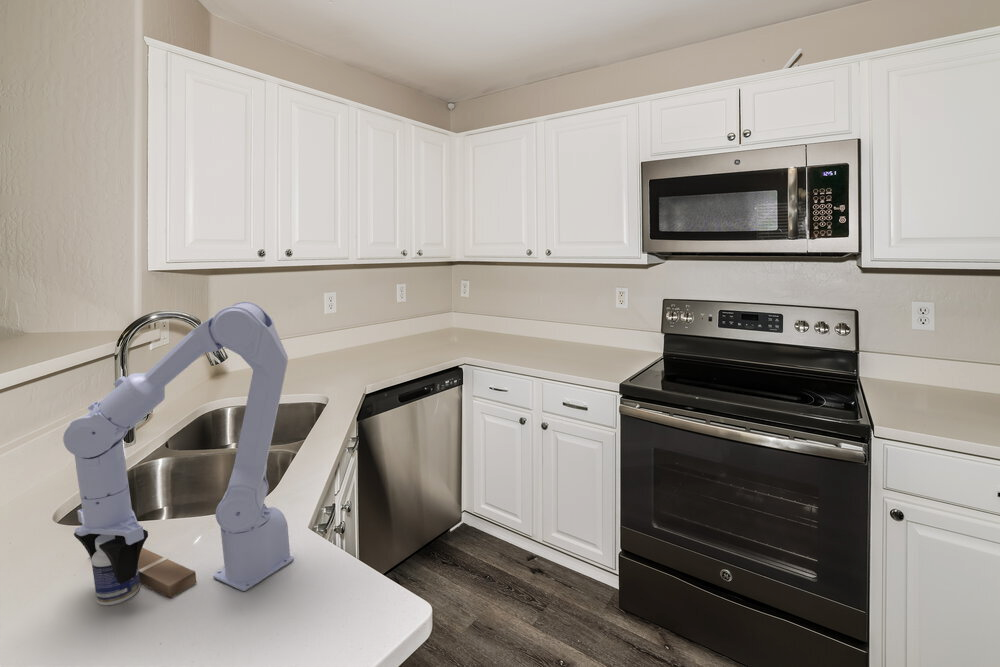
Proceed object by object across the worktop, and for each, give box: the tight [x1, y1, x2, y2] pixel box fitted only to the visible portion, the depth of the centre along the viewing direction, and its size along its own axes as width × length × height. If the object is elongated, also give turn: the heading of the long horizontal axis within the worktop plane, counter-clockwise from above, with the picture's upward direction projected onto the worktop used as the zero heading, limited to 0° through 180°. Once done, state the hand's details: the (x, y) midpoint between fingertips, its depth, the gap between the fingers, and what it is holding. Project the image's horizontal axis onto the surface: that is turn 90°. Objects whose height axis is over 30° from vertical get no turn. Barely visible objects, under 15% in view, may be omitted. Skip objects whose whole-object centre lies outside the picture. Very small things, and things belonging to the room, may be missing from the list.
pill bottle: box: [91, 534, 141, 606], centre depth 77 cm, size 5×5×10 cm
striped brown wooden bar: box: [138, 547, 198, 599], centre depth 84 cm, size 4×24×2 cm, turn 62°
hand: (116, 574), depth 77 cm, fingers closed on pill bottle, 5 cm apart
